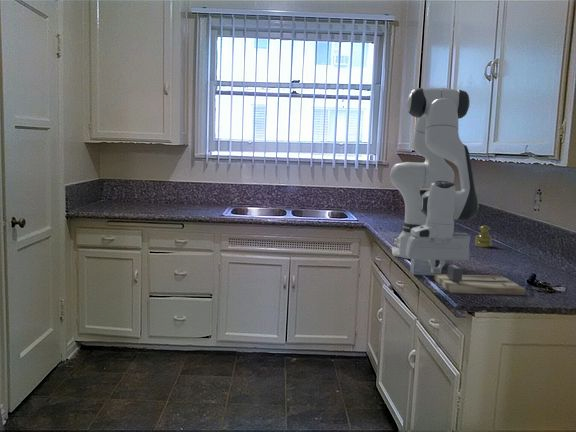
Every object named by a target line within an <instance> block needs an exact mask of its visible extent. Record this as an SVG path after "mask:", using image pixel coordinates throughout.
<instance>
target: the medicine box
mask: <svg viewBox="0 0 576 432" xmlns="http://www.w3.org/2000/svg"><path fill="white" fill-rule="evenodd" d="M436 263H437V260H434V263H433V265H434V267H436ZM409 272H410V273H411V275H412V276H430V277H431V276H433V277H434V274H436V273H431V266H430V264H429V262H428V260H427V259H410V268H409Z"/></svg>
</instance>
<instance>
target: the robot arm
mask: <svg viewBox="0 0 576 432" xmlns="http://www.w3.org/2000/svg"><path fill="white" fill-rule="evenodd" d="M470 105H471V103H470V96H469V94H468V92H467V91H465V90H462V89H452V88H448V87H447V88H445V87H439V88H435V87H434V88H433V87H431V88H429V87H428V88H422V87H420V88H414V89H412V90H411V91H410V93H409V95H408V97H407V100H406V108H407V111H408V114H409V115H410V116H412V117H415V118H416V122H415V124H414V125H415V127H414V133H413V139H412V149H413V150H414V153H416V154H418V155H419V156H421V157H423V158H424V159H425V160H424V161H423V162H416V161H415V162H414V161H413V162H411V161H405V162H398V163H395V164H394V165H393V166H392V167H391V169H390V172H389V180H390V183H391V184H392V186H393V187H394V188H396V189H397V190H398V192H399V193H400V194H401V196H402V198H403V201H404V221H403V223H402V231H401V232H400V234H399V235H398V237H397V238H394V239H393V240H394V242H393V244H394V245H396V246H391V252H392V253H391V254H392V256H393V257H398V258H403V259H408V260H411V259H427V260H428V262H429V264H430V266H431V273H435V274H442V269H443V267H444V266H445V265H446V261H457V262H459V261H460V262H462V261H463V262H465V261H468V260H469V258H470V241H471V236H470V235H469V233H467V232H466V231H462V232H459V231H454V229H455V220H457V221H461V222H469V221H471V220H472V219H474V218H475V217H476V216H477V215H478V211H479V201H478V196H477V193H476V188H475V187H476V186H475V180H474V174H473V167H472V162H471V156H470V151H469V148H468V146H467V145H466V144H463V142H462V140H461V138H460V133H459V119H462V118H463V117H465V116H466V115H467V113H468V111H469V108H470ZM446 161H449V162H450V163H452V164H454V165H455V166H456V167H457V170H458V175H459V176H458V177H459V182H460V183H459V184H460V190H456V185H455V184H454V181H455V172H454V170H453V168H452V167H451V165H449V163H447V162H446ZM421 190H422V191H423V190H425V192H424V193H423V194H422V195H421V193H420V192H421ZM434 260H436V261H438V262H439V263H438V266H435V267H434V265H433V263H434Z"/></svg>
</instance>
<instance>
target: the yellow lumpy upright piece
mask: <svg viewBox="0 0 576 432" xmlns="http://www.w3.org/2000/svg"><path fill="white" fill-rule="evenodd" d="M478 228H479V230H480V233H478V235H475V241H474V245H475V247H479V248H491V247H492V241H493V237H491V235H490V234H489V233H488V231H489V230H491V227H489V226H487V224H486V225H485V224H484V225H481V226H479V227H478Z"/></svg>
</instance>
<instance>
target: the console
mask: <svg viewBox="0 0 576 432" xmlns="http://www.w3.org/2000/svg"><path fill="white" fill-rule="evenodd" d="M433 281H436V282H437V284H439V285H440V286H442V287H443V288H444V289H445V290H446V291H447V292H449V293H451V294H477V295H479V294H480V295H484V294H485V295H510V296H511V295H512V296H513V295H518V296H525V295H526V288H525V287H523V286H521V285H520V284H518V283H516V282H514V281H512V280H511V279H509V278H508V277H507V278H506V277H505V276H503V275H488V274H487V275H486V274H482V275H481V274H462V281H452V280H451V279H450V278H448V277H447V273H435V274H434V276H433Z"/></svg>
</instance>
